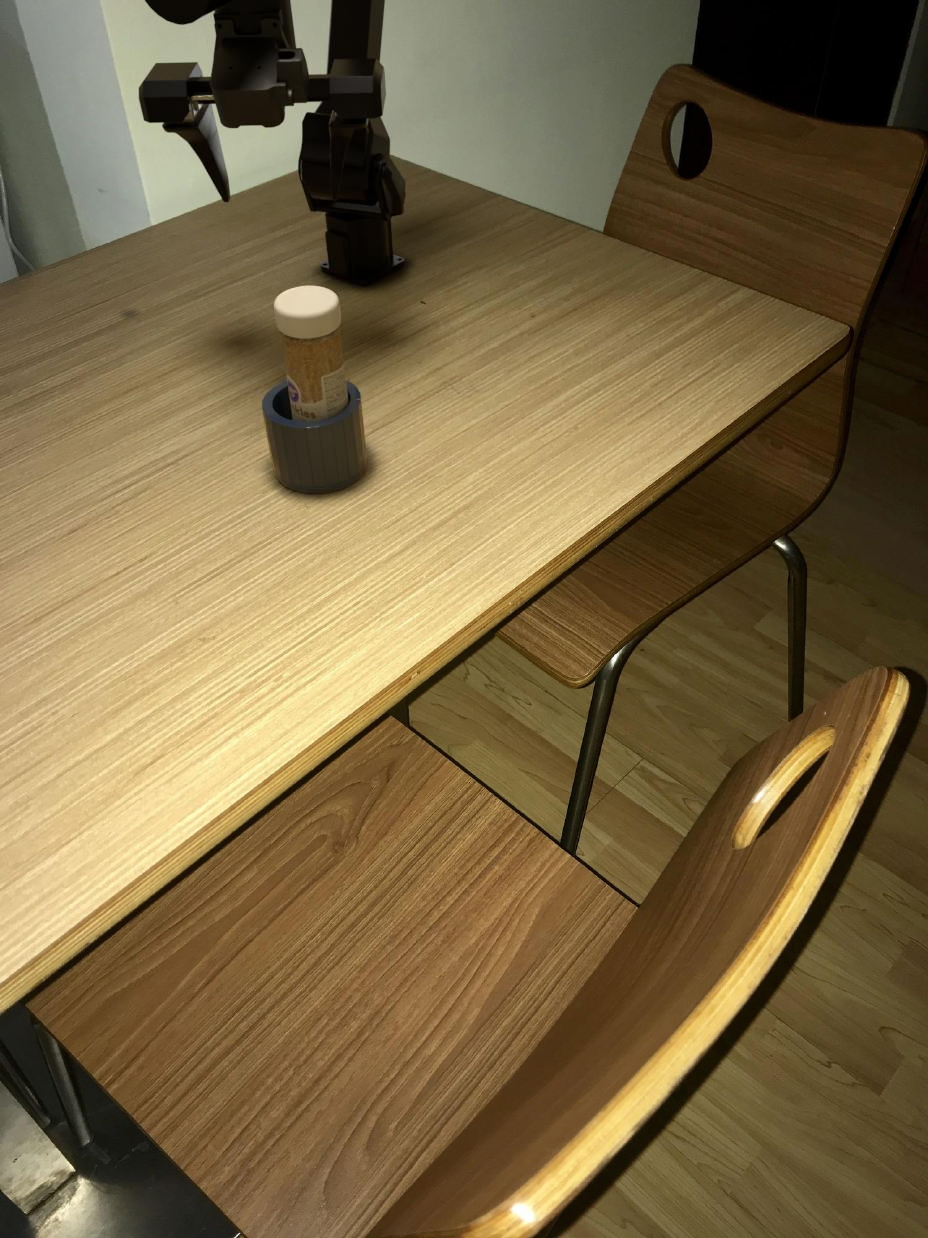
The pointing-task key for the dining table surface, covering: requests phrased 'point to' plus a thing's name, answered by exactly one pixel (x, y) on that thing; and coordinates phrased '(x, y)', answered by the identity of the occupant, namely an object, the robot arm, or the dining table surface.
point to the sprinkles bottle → (312, 352)
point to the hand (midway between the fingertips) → (281, 199)
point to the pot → (315, 444)
